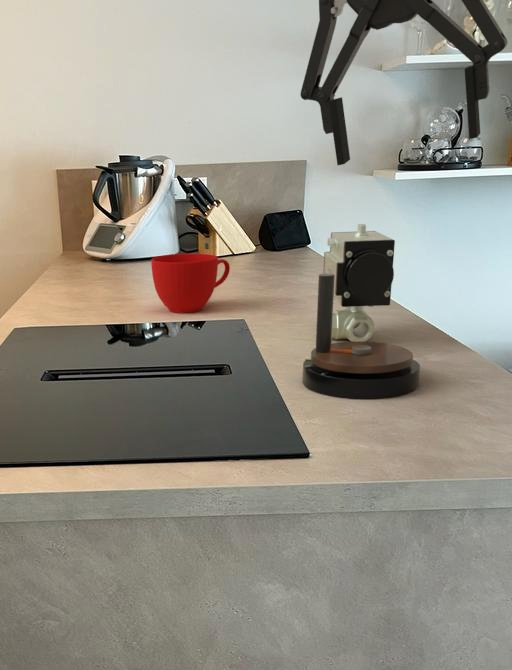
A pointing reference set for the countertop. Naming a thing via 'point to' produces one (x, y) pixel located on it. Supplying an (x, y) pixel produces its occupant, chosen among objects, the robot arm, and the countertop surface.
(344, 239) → the ball valve
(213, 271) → the ceramic cup
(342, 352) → the pointer wheel
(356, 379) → the disc
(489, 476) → the countertop surface
